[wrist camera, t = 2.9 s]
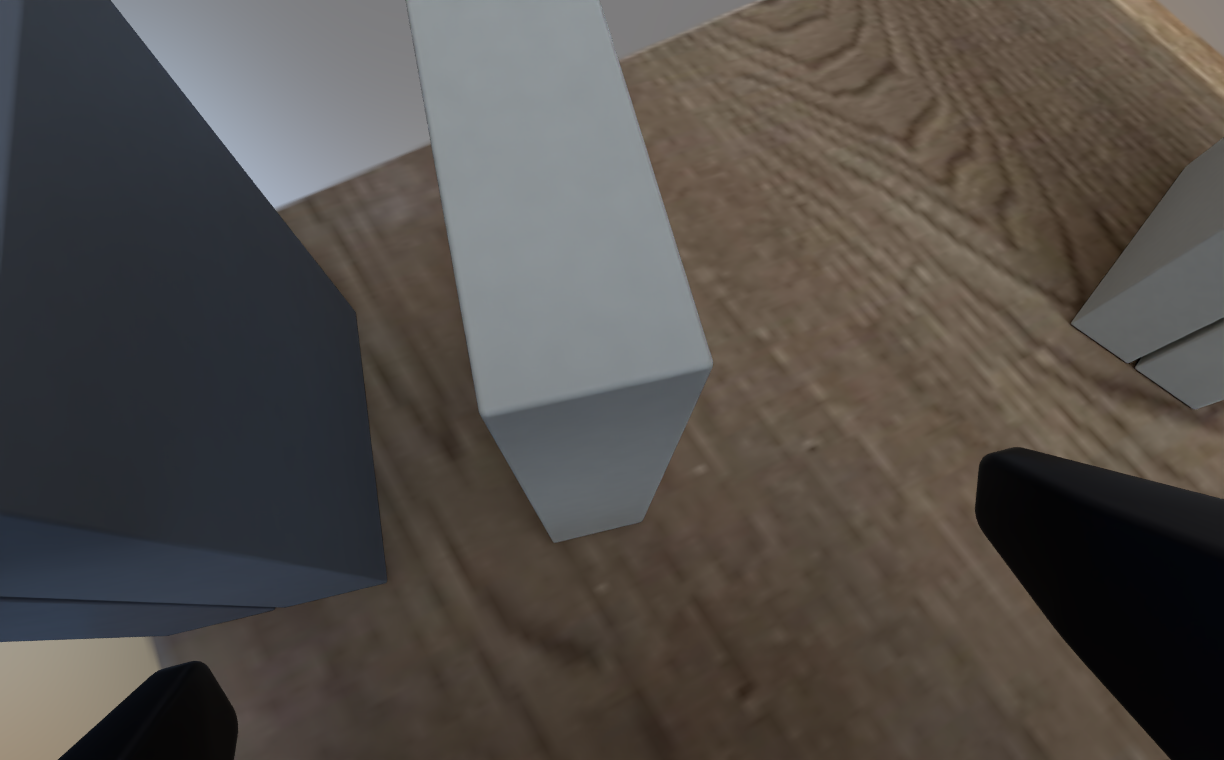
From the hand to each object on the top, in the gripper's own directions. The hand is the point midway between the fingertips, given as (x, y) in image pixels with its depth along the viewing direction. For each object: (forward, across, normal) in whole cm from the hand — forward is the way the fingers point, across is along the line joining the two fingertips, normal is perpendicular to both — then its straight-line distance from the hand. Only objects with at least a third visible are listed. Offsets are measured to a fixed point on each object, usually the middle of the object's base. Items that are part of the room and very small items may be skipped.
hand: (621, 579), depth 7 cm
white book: (+13, 0, +4) cm, 14 cm away
